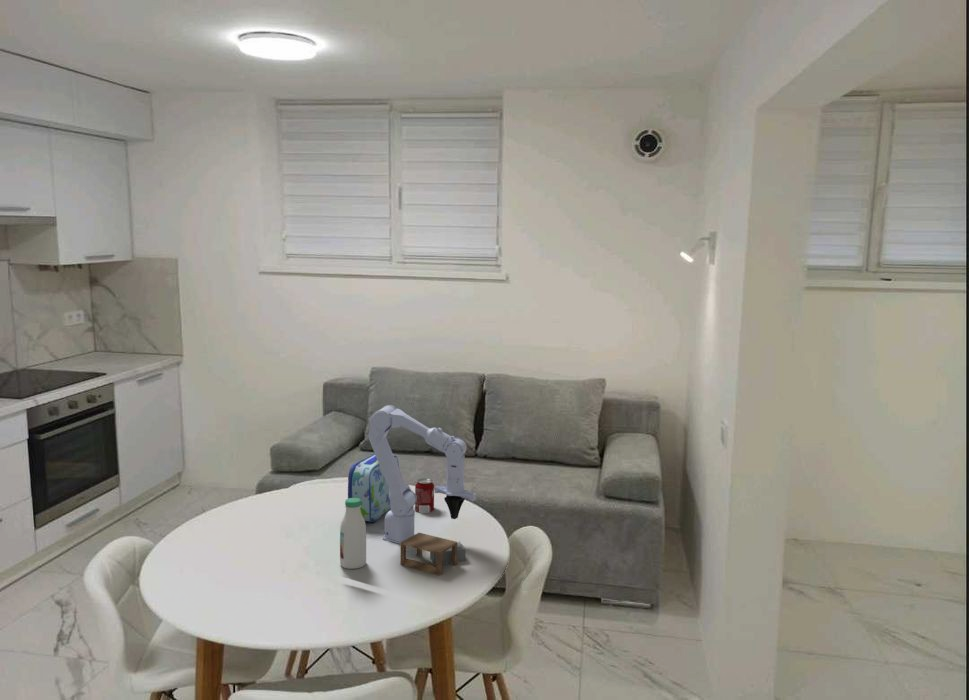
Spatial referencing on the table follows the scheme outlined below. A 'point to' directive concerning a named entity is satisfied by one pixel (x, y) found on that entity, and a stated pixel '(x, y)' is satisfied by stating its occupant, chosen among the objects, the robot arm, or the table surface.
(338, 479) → the table surface
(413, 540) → the wooden footstool
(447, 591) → the table surface
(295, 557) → the table surface
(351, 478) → the lunch box
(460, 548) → the grey rectangular block
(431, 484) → the soda can
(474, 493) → the robot arm
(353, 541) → the milk bottle
